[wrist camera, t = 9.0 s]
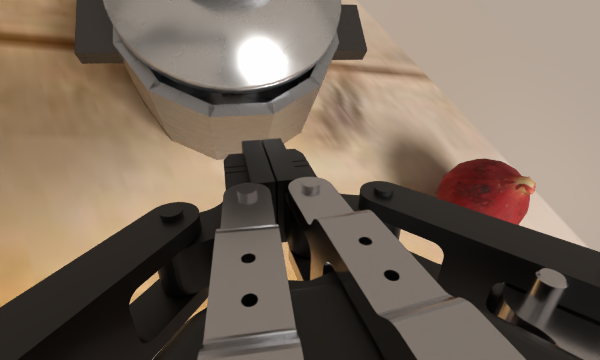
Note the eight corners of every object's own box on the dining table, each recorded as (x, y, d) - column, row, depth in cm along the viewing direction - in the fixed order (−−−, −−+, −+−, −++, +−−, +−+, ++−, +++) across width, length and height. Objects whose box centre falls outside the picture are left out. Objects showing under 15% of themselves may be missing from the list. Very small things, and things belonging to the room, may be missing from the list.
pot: (112, 167, 24) (64, 124, 17) (113, 11, 28) (74, -74, 21) (351, 149, 28) (386, 108, 21) (324, 14, 32) (346, -56, 25)
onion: (419, 239, 27) (491, 222, 19) (416, 172, 28) (481, 133, 21) (484, 245, 28) (576, 232, 20) (477, 180, 29) (560, 145, 22)
